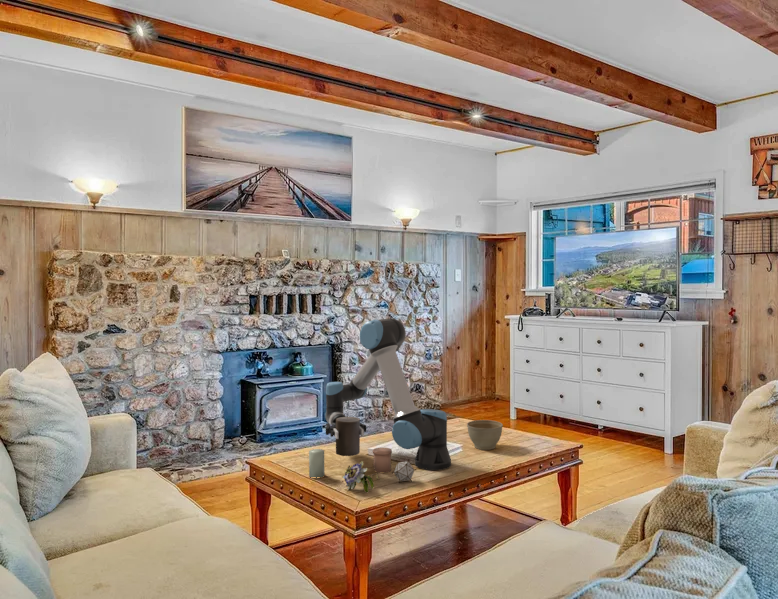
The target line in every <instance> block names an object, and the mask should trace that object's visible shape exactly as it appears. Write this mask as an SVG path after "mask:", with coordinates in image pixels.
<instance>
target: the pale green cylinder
mask: <svg viewBox="0 0 778 599" xmlns="http://www.w3.org/2000/svg"><path fill="white" fill-rule="evenodd" d="M308 465H309V466H308V476H310V477H316V478H317V477H323V476H324V475H325V473H326V472H325V450H324V449H321V448H315V449H314V448H313V449H310V450H308ZM310 477H309V478H310ZM324 477H325V476H324ZM324 477H323V478H324Z"/></svg>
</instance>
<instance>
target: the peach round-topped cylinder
mask: <svg viewBox="0 0 778 599" xmlns="http://www.w3.org/2000/svg"><path fill="white" fill-rule="evenodd" d="M392 453H393V451H392V448H389V447H376V448H373V449H372V454H373V471H374V472H375V471H376V473H380V472H384V473H389V472H390V471H392V466H391V465H392Z"/></svg>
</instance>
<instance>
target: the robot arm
mask: <svg viewBox="0 0 778 599" xmlns="http://www.w3.org/2000/svg"><path fill="white" fill-rule="evenodd" d="M360 329H361V330H360V331H359V341H360V344H361V345H362V347H364V349H367V350H369V353H370V355H368V358H367V359H366V360H365V361H364V363H363V364H362V366H361V367H360V368H359V370H358V372H357V373H356V374H355V375H354V377H353V378H352V380H351V381H349V383H347V384H343V382H341V381H329V382H327V383H326V386H325V398H326V405H325V406H326V408H325V410H326V411H325V413H324V418H325V420H326V423H325V435H326V436H329V435H330V436H329V437H330V438H332V437H334V438H335V440H336V439H338V431H337V430H336V419H337V418H340V417H347V416H346V415H345V414H344V402H345V403H346V402H349V401H355V400H359V399H362V398H365V396H366V395H367V391H368V386H369V385H370V384H371V382H372V381H373V380H374V378H375V377H376V376H377V375H378V373H379V372H380V374H381V377H382V380H383V382H384V385H385V389H386V391H387V392H386V393H387V394H388V398H389V400H390V403H391V405H392V409H393V411H394V416H393V417H392V421H393V425H392V429H391V436H392V439H393V441H394V442H395V443H396V445H398V447H400V448H402V449H404V450H412V449H416V448H417V451H416V454H415V457H414V466H415V467H416V468H419V469H422V470H426V471H427V470H428V471H442V470H446V469H449V468H450V467H451V466H452V458H451V455H450V452H449V448H448V442H447V441H448V437H447V436H448V434H447V433H448V431H447V430H448V428H447V427H448V426H447V425H448V420H447V418H448V417H447V413H446V412H445V411H443V410H439V409H432V408H421V409H420V408H418V407H416V405H415V403H414V400H413V397H412V394H411V392H410V388H409V386H408V383H407V380H406V376H405V374H404V372H403V368H402V366H401V363H400V361H399V360H400V359H399V357H398V354H397V351H398V350H400V348H401V346H402V345H403V343H404V342H405V340H406V336H407V334H406V333H407V331H406V327H405V325H404V324H403V322H401V320H398V319H396V318H386V319H385V318H383V319H372V320H367V321H366V322H365V323H364V324H363V325H362V326H361V328H360ZM366 432H367V425H366V424H363V423H362V422H360V437H362V438H363V437H365V433H366Z"/></svg>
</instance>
